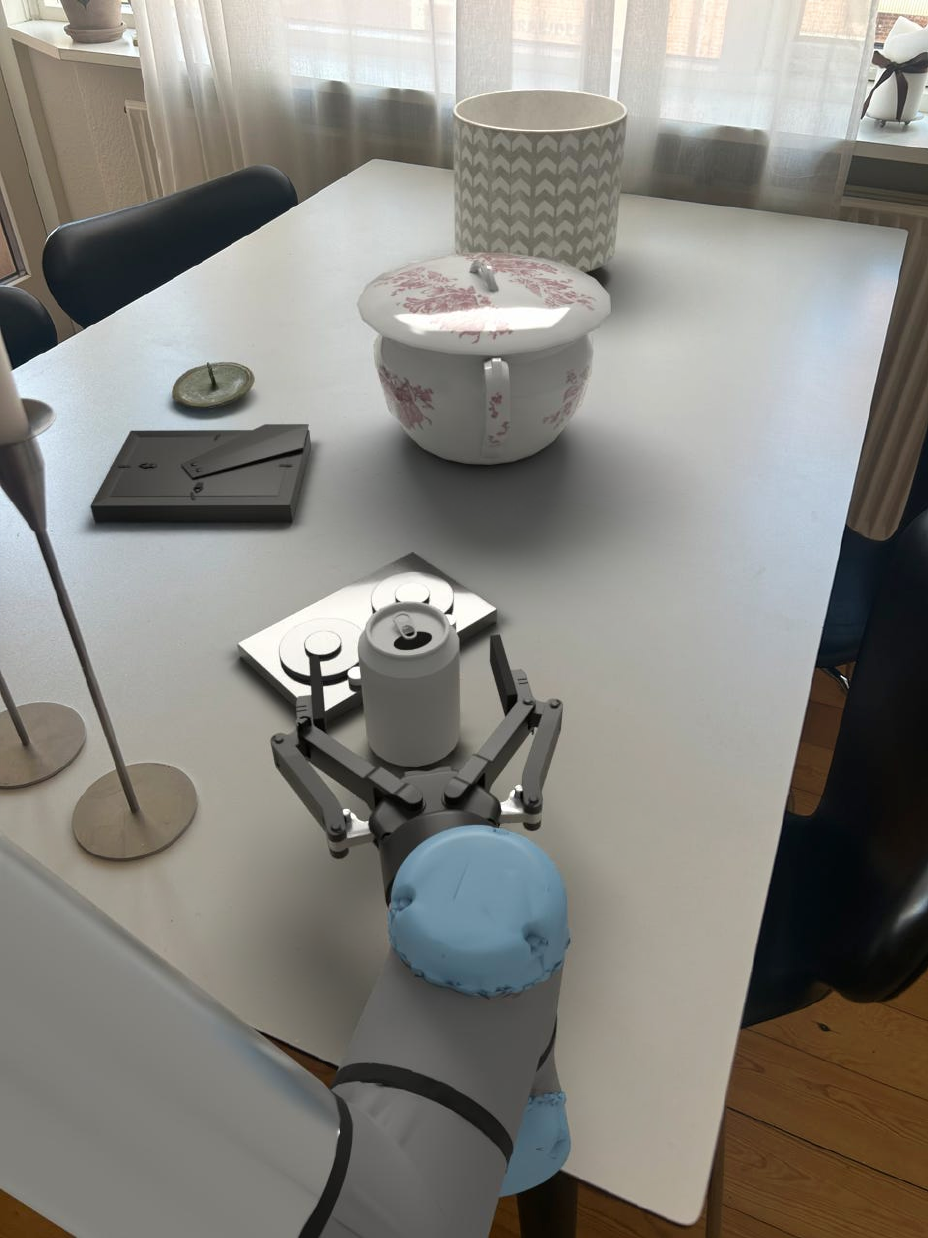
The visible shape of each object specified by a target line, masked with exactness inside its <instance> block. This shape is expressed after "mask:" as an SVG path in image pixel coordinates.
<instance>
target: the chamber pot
mask: <svg viewBox="0 0 928 1238" xmlns="http://www.w3.org/2000/svg"><path fill="white" fill-rule="evenodd" d="M611 301H612V300H611V295H610V293H609V292H608V291H607V290H606V289H605V288H604V287H603V286H602V284H601V283H600V282H599V281H598V280H597V279H596V278H595V277H593V276H591V275H589V274H588V273H587V272H585V273H584V272H582V271H580V270H578V269H576V268H574V267H572V266H568V265H565V264H562V263H558V262H555V261H551V260H548V259H545V258H538V257H531V256H524V255H518V254H511V253H464V254H456V253H455V254H443V255H437V256H432V257H428V258H423V259H418V260H413V261H409V262H406V263H404V264H401V265H398V266H396V267H394V268H391V269H388V270H385V271H383V272H382V273H381V274H379V275H377V276H376V277H375V278H374V279H373V280H371V281H370V282H369V283H367V284H366V285H365V286H364V287H363V289H362V291H361V293H360V295H359V297H358V300H357V302H356V306H357V307H356V308H357V309H358V312H359V315H360V318H361V321H363V322H364V323H365V324H366V325H368V326H369V327H371V328H372V329H373V330H374V331H375V332H376V333H377V334H376V337H375V340H374V342H373V358H374V367H375V370H376V374H377V377H378V378H377V379H378V381H379V384H380V388H381V392H382V396H383V398H384V400H385V401H384V402H385V404H386V406H387V409H388V412H389V413H390V414H391V415H392V416H393V418H394V419H395V421H396V422H397V423H398V424H399V425H400V427H401V429H403V431H404V432H405V433H406V434H407V436H408V437H409V438H410V439H412V441H414V442H415V444H417V445H418V446H419V447H420V448H422V449H423V450H424V451H425V452H428V453H429V454H432V455H434V456H437V457H438V458H440V459H443V460H446V461H447V460H448V461H451V462H455V463H461V464H465V465H484V466H485V465H489V466H490V465H499V464H506V463H513V462H516V461H520V460H522V459H525V458H529V457H532V456H534V455H535V454H537V453H539V452H540V451H542V450H543V449H545V448H546V447H548V446H549V445H550V444H552V443H554V441H555V440H556V439H557V437H558V436H559V435H560V433H562V431H563V430H564V428H566V426H567V425H568V424H569V422H570V421H572V419H573V417H574V416H575V415H576V413H577V412H578V410H579V409H580V407H581V406H582V405H583V402H584V399H585V396H586V393H587V389H588V386H589V383H590V380H591V376H592V374H593V373H592V372H593V361H594V336H593V334H592V332H594V331H596V330H597V329H600V327H601V326H602V324H603V323H604V322H605V320H606V319H607V318H608V317H609V315H610V314H611V313H612V304H611V303H612V302H611Z"/></svg>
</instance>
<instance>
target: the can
mask: <svg viewBox="0 0 928 1238" xmlns="http://www.w3.org/2000/svg"><path fill="white" fill-rule="evenodd" d="M357 648H358V658H359V667H360V677H361V686H362V696H363V703H362V705H363V713H364V722H365V724H364V725H365V732H366V733H365V734H366V738H367V742H368V745H369V746H368V747H370V749H371V750H372V751H373V753H375V755H376V756H377V757H379V758H380V759H381V760H383V761H385V762H387V763H388V764H392V765H396V766H400V767H407V768H408V767H410V768H411V767H413V768H418V767H424V766H427V765H432V764H435V763H436V762H439V761H441V760H443V759H445V758H446V757H447V756H448V755H449V754H450V753H451V752H452V751H454V750H455V748H456V747H457V744H458V742H459V741H460V740H461V739H460V738H461V665H460V664H461V663H460V662H461V661H460V644H459V637H458V635H457V632H456V630H455V629H454V628H453V627H452V626H451V625H450V623H449V620H448V618H447V616H446V615H445V614H444V613H443V612H442V611H441V610H439V609H438V608H436V607H434V606H432V605H430V604H426V603H421V602H413V601H404V602H398V603H393V604H390V605H388V606H385V607H383V608H381V609H379V610H378V611H376V612H375V613H374V614H372V615H371V617H370V618H369V620H368V621H367V623H366V627H365V629H364V631H363V632H362V634H361V635H360V637H359V642H358V647H357Z"/></svg>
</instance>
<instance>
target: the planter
mask: <svg viewBox="0 0 928 1238" xmlns="http://www.w3.org/2000/svg"><path fill="white" fill-rule="evenodd" d="M627 120H628V108H627V107H626V105H625V104H624V103H622V102H621V101H619V100H617V99H614V98H612V97H609V96H605V95H601V94H596V93H592V92H586V91H581V90H580V91H579V90H570V89H556V88H521V89H508V90H498V91H492V92H486V93H481V94H476V95H473V96H470V97H467V98H464V99H462V100H460V101H458V102H457V103H456V104H455V105H454V107H453V110H452V123H453V124H452V127H453V128H452V132H453V133H452V135H453V136H452V137H453V139H452V141H453V144H452V145H453V196H454V197H453V204H454V205H453V206H454V207H453V208H454V213H453V215H454V252H455V254H464V253H511V254H518V255H524V256H531V257H538V258H545V259H548V260H551V261H555V262H558V263H562V264H565V265H568V266H572V267H574V268H576V269H578V270H580V271H582V272H584V273H587V272H591V271H595V270H596V269H598V268H602V267H603V266H605V265H606V264H607V263H609V262H610V261H611V260H612V259H613V257H614V255H615V253H616V243H617V233H618V232H617V230H618V220H619V209H620V199H621V188H622V178H623V177H622V175H623V167H624V154H625V144H626V133H627V123H628V121H627Z"/></svg>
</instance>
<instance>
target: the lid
mask: <svg viewBox="0 0 928 1238" xmlns="http://www.w3.org/2000/svg"><path fill="white" fill-rule="evenodd" d="M254 383H255V375H254V372H253V371H252V370H251V369H250V368H249V367H247V366H245V365H243V364H241V363H237V362H234V361H233V362H232V361H230V362H229V361H219V362H212V363H210V362H209V361H208V362H206V364H203V365H200V366H196V367H193V368H190V369H188V370H187V371H185V372H184V373H182V374H181V375H180V376H179V377H178V378H177V379H176V380H175V383H174V384H173V386H172V391H171V397H172V399H173V401H174V402H175V403H176V404H178V405H181V406H183V407H185V408H193V409H212V408H217V407H221V406H225V405H228V404H230V403H232V402H235V401H236V400H238V399H240V398H241V397H243V396H244V395H245V394H246V393H248V392H249V391H250V390H251V388H252V387H253V386H254Z"/></svg>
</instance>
